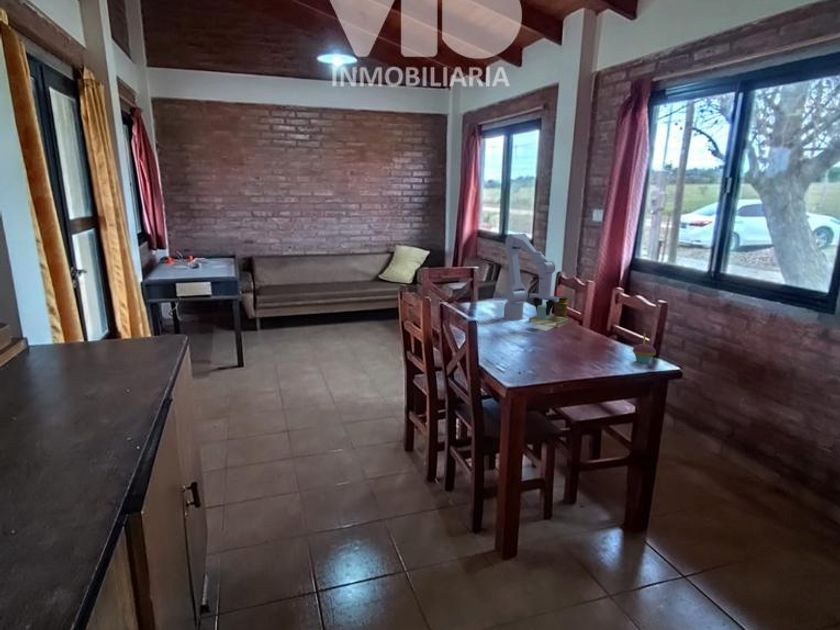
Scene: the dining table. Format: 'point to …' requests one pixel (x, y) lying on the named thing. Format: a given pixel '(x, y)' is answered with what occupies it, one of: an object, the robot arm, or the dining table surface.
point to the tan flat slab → (550, 321)
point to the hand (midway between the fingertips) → (543, 314)
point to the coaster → (542, 327)
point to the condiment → (561, 307)
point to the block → (542, 312)
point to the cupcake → (644, 352)
